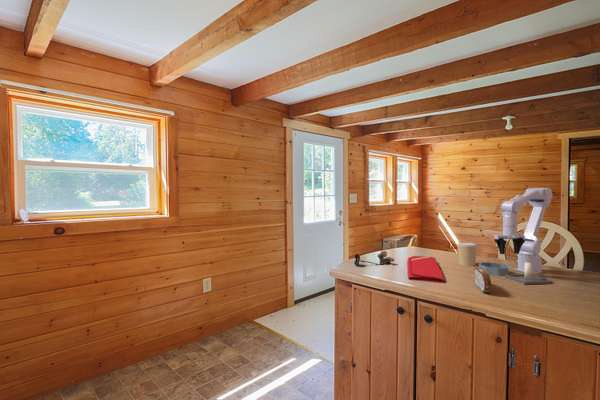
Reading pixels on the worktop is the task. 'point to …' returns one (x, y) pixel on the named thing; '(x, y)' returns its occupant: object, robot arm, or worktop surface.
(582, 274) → the worktop surface
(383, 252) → the artificial flower
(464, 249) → the coffee cup
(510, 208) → the robot arm
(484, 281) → the tin
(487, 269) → the blue-grey octagonal bowl
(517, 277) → the tray
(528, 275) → the dowel pin
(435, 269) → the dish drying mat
